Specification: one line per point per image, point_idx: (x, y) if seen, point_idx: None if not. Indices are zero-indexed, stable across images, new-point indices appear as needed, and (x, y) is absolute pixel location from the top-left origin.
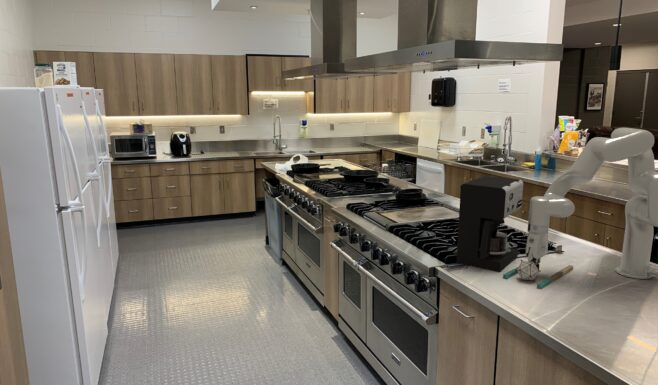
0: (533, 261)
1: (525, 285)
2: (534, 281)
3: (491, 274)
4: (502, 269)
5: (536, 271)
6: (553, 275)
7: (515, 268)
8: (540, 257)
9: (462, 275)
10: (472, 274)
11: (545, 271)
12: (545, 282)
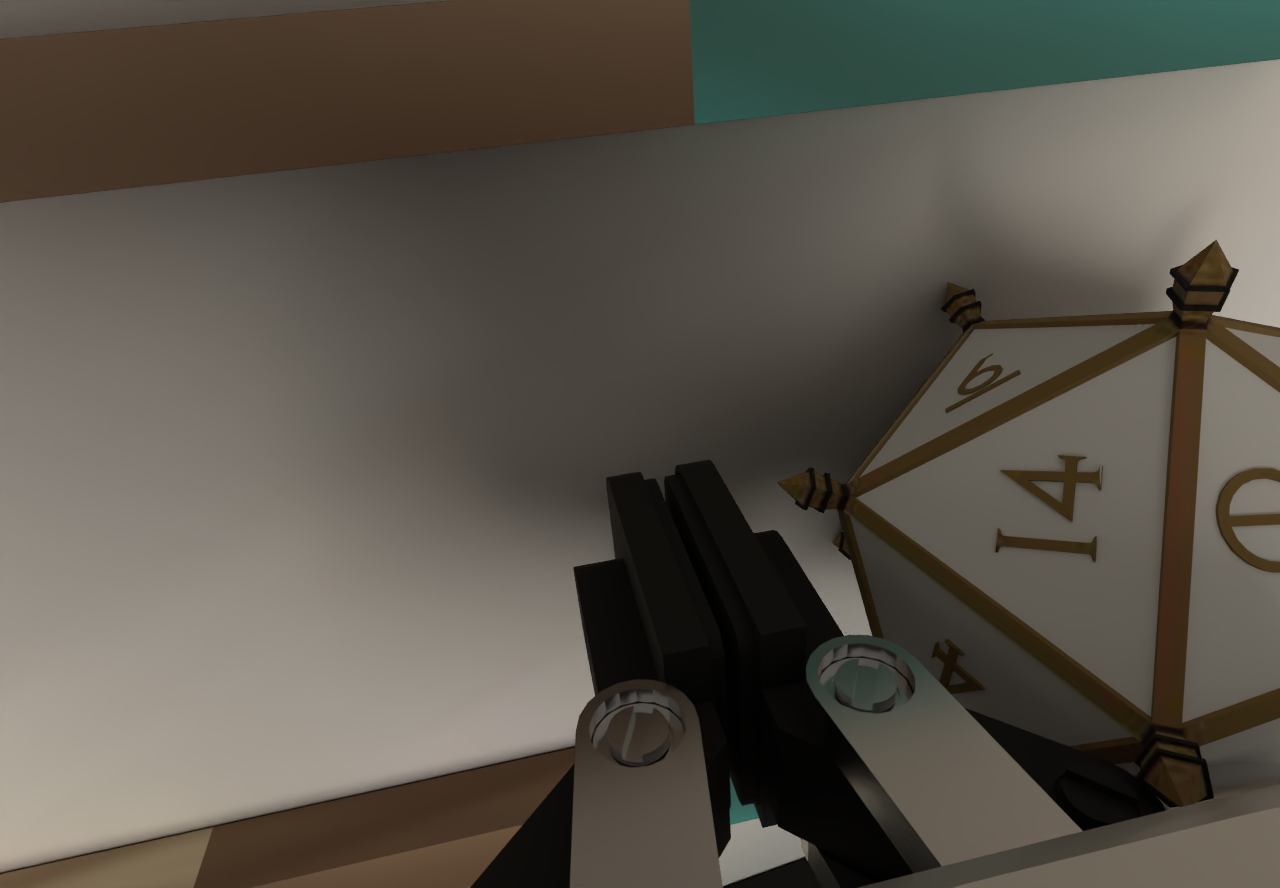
0: (1180, 750)
1: (1243, 290)
2: (969, 295)
3: None
4: (789, 873)
5: (1256, 344)
6: (402, 116)
7: (734, 818)
8: (1214, 840)
9: None
10: None
11: (93, 542)
12: None
